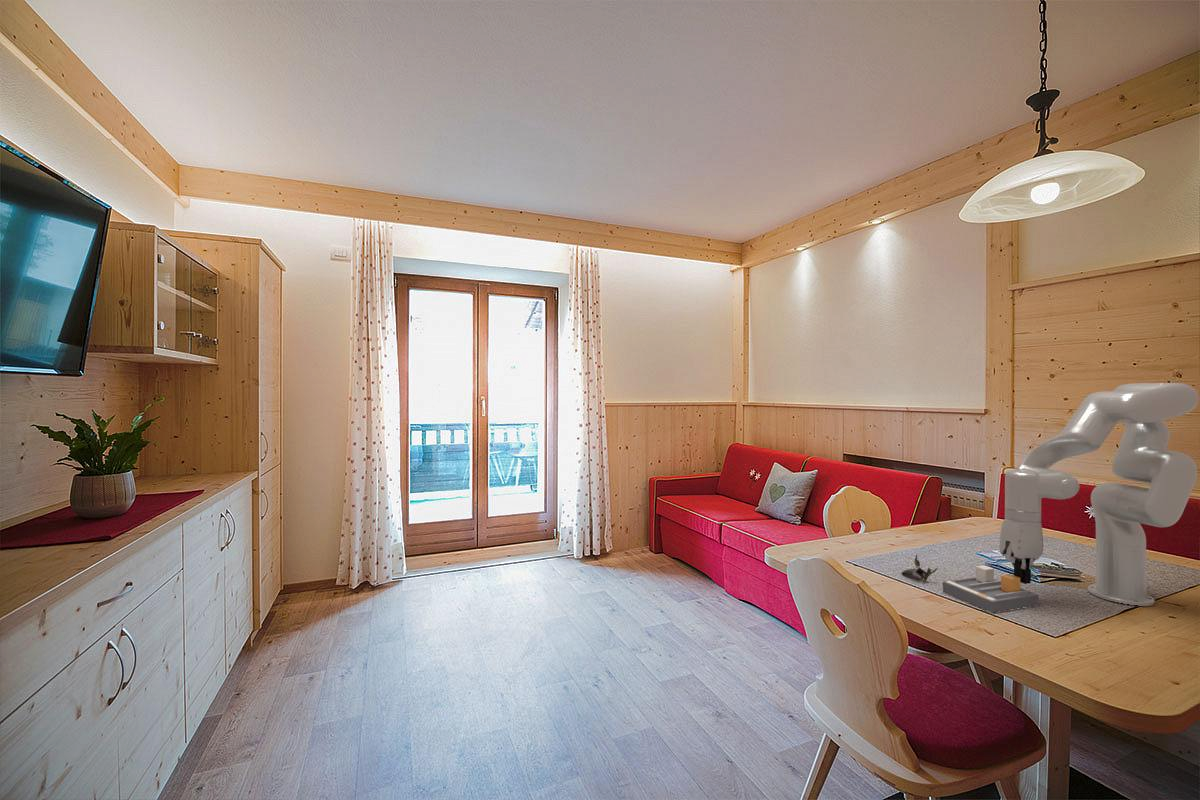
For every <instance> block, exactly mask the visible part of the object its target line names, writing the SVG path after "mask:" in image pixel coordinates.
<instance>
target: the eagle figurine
mask: <svg viewBox="0 0 1200 800" xmlns="http://www.w3.org/2000/svg"><path fill="white" fill-rule="evenodd" d="M914 565H915V568H907V569H905V570H903V571H902V572H901V574H907V575H911V574H913V575H914V574H917V575H919V577H921V578H923V582H926V583H927V580H928V578H929V577H930V576H931V575H933V573H936V572H937V570H938V567H936V568H935V569H931V568H930V567H928V568H927V570H924V569H922V568H921V563H920V560H919V559H918V554H916V555H915V558H914Z"/></svg>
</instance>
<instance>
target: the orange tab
mask: <svg viewBox="0 0 1200 800" xmlns="http://www.w3.org/2000/svg"><path fill="white" fill-rule="evenodd" d="M1000 581H1001V590H1003V591H1006V592H1016V591H1020V588H1021V582H1020V578H1019V577H1016V576H1014V574H1010V573H1006V574H1000Z"/></svg>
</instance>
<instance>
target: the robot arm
mask: <svg viewBox="0 0 1200 800" xmlns="http://www.w3.org/2000/svg"><path fill="white" fill-rule="evenodd" d="M1199 399H1200V397H1199V393H1198V392H1197V389H1195V388H1194V387H1193V386H1191V385H1189V384H1186V383H1183V382H1181V383H1180V382H1139V383H1138V382H1135V383H1124V384H1122V385H1119V386H1117V387H1115V389H1114V390H1111V391H1108V390H1107V391H1106V390H1105V391H1096V392H1092V393H1090V394H1088V395H1087V396H1086V397H1085V398H1084V399H1083V401H1081V403H1080V405H1079V406H1078V407H1077V409H1076V410H1075V412H1074V414H1073V415H1072V416H1071V418H1070V419H1069V421H1068V422H1067V423H1066V425H1065V426H1064V428H1063V429H1062V431H1060V432H1059V433H1058V434H1057V435H1055V436H1053V437H1051V438H1049V439H1047V440H1046V441H1044V442H1042V443H1041V444H1038V445H1037V446H1035V447H1034V448H1032V449H1031V450H1030V451H1029V452H1028V453H1027V454H1026V455H1025V457H1024V458H1023V459H1022V460H1021V462H1020V463H1019V464H1018V467H1017V468H1016V469H1010V470H1008V471H1006V473H1005V474H1004V519H1003V521H1002V524H1001V528H1000V534H999V535H1000V536H999V553H1000V554H1001V555H1005V559H1004V560H1005V561H1006V562H1007V563H1008V562H1009V563H1011V564H1012V566H1013V575H1014V576H1016V577H1019V578H1020V584H1024V585H1027V584H1031V582H1032V581H1031V580H1032V579H1031V578H1032V569H1033V565H1034V562H1036V561H1038V560H1039V559H1040V557H1041V556H1042V555H1043V554H1044V533H1043V526H1042V499H1044V498H1045V499H1046V498H1047V499H1053V500H1067V499H1071V498H1073V497H1075V496H1076V495H1077V494H1078V492H1079V491H1080V483H1079V481H1078V479H1077V478H1076V477H1075V476H1074V475H1072V474H1070V473H1067V472H1064V471H1060V470H1054V469H1050V468H1051V467H1052V466H1053V465H1055V464H1056V463H1058V462H1060V461H1062V460H1065V459H1068V458H1072V457H1076V456H1081V455H1085V454H1089V453H1092V452H1095V451H1097V450H1100V448H1101V446H1102V445H1103V444H1104V442H1105V441H1106V439H1107V438H1108V437H1109V435H1110V433H1111V432H1112V430H1114V428H1115V427H1116V425H1117V424H1124V432H1123V433H1122V438H1121V439H1120V443H1119V444H1118V445H1119V446H1118V448H1117V449H1116V452H1115V455H1114V457H1113V460H1112V464H1111V470H1112V473H1113V474H1114V475H1115V476H1116V477H1118V478H1119V479H1122V480H1127V481H1130V482H1135V483H1141V484H1148V485H1150V486H1149V487H1142V486H1138V485H1133V484H1132V485H1131V484H1127V483H1120V482H1105V483H1100V484H1098V485H1097V486H1095V487H1094V488H1093V489H1092V491H1091V494H1090V503H1091V507H1092V508H1091V509H1092V511H1093V515H1094V521H1095V583H1093V584H1089V585H1088V586H1087V591H1088V592H1089V593H1090V594H1092V595H1094V596H1095V597H1098V598H1100V599H1103V600H1107V601H1109V602H1110V601H1111V602H1113V601H1114V602H1113V603H1117V602H1118V603H1117V604H1121V603H1123V604H1122V605H1127V604H1129V606H1134V605H1138V606H1137V607H1151V606H1153V605H1154V604H1155V598H1154V597H1153V596H1151V595H1149V594H1147V590H1148V589H1153V588H1154V587H1155V584H1154V583H1153V582H1152V581H1149V580H1147V575H1146V574H1147V538H1146V537H1147V536H1146V532H1145V531H1144V528H1143V527H1142V525H1143V524H1144V525H1148V526H1152V527H1157V528H1168V527H1171V526H1173V525H1175V524H1176V523H1177V522H1178V521H1180V518H1182V515H1183V513H1184V510H1185V508H1186V506H1187V504H1188V501H1189V499H1190V496H1191V493H1192V492H1193V489H1194V486H1195V483H1196V482H1197V477H1198V468H1197V465H1196V462H1195V461H1194V459H1193V458H1192V457H1190V456H1189V455H1187V454H1185V453H1182V452H1179V451H1176V450H1175V451H1173V450H1167V447H1168V445H1169V442H1170V439H1171V432H1170V428H1169V427H1168V424H1167V423H1166V421H1165V420H1168V419H1174V418H1178V417H1181V416H1185V415H1187V414H1189V413H1190V412H1192V411H1193V410H1195V409H1196V407H1197V406H1198V404H1199V401H1200V400H1199ZM1141 524H1142V525H1141Z"/></svg>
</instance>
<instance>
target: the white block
mask: <svg viewBox="0 0 1200 800" xmlns="http://www.w3.org/2000/svg"><path fill="white" fill-rule="evenodd" d="M975 577H976V580H977V581H980V582H982V583H984V582H991V581H994V579H995V568H992V567H990V566H987V565H985V564H984V565H983V564H982V565H976V566H975Z"/></svg>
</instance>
